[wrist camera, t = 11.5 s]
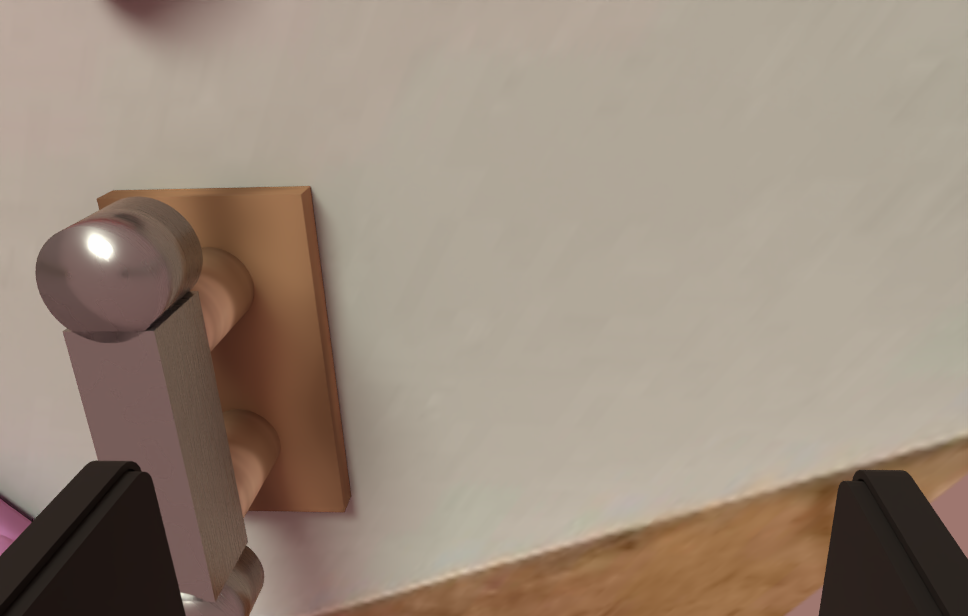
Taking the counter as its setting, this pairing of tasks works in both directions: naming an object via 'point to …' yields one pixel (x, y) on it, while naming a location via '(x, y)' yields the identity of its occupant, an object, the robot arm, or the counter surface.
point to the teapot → (10, 525)
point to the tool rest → (267, 342)
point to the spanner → (154, 385)
